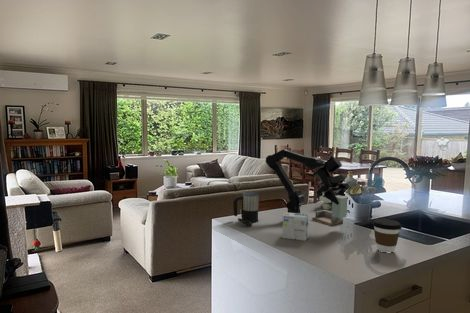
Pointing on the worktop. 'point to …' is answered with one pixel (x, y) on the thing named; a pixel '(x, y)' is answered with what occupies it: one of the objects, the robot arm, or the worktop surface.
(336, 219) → the brown shallow tray
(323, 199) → the pneumatic valve
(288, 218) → the light bulb box
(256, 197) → the milk frother
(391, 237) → the coffee cup
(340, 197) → the block
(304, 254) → the worktop surface
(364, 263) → the worktop surface
